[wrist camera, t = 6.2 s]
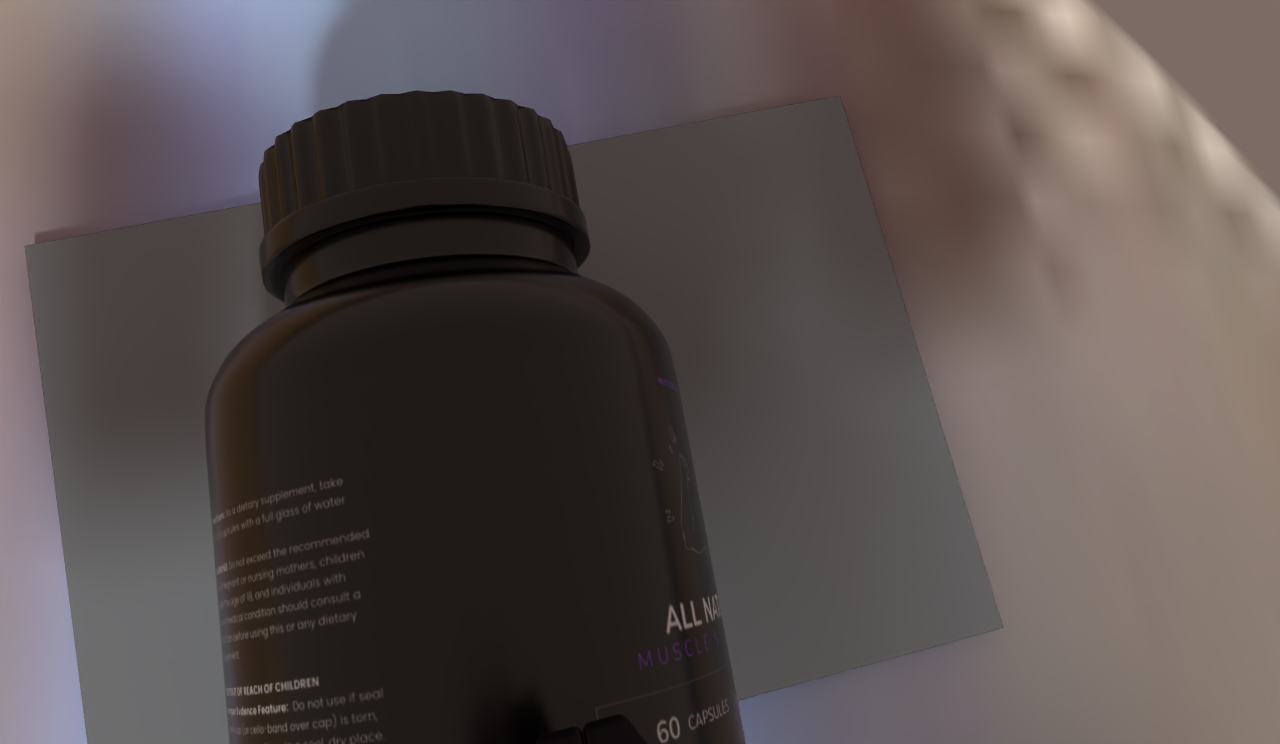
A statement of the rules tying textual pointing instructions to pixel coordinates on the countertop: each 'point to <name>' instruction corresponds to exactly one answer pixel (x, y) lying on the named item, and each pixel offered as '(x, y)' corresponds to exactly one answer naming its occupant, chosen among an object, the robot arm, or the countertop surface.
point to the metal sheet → (708, 383)
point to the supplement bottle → (452, 455)
